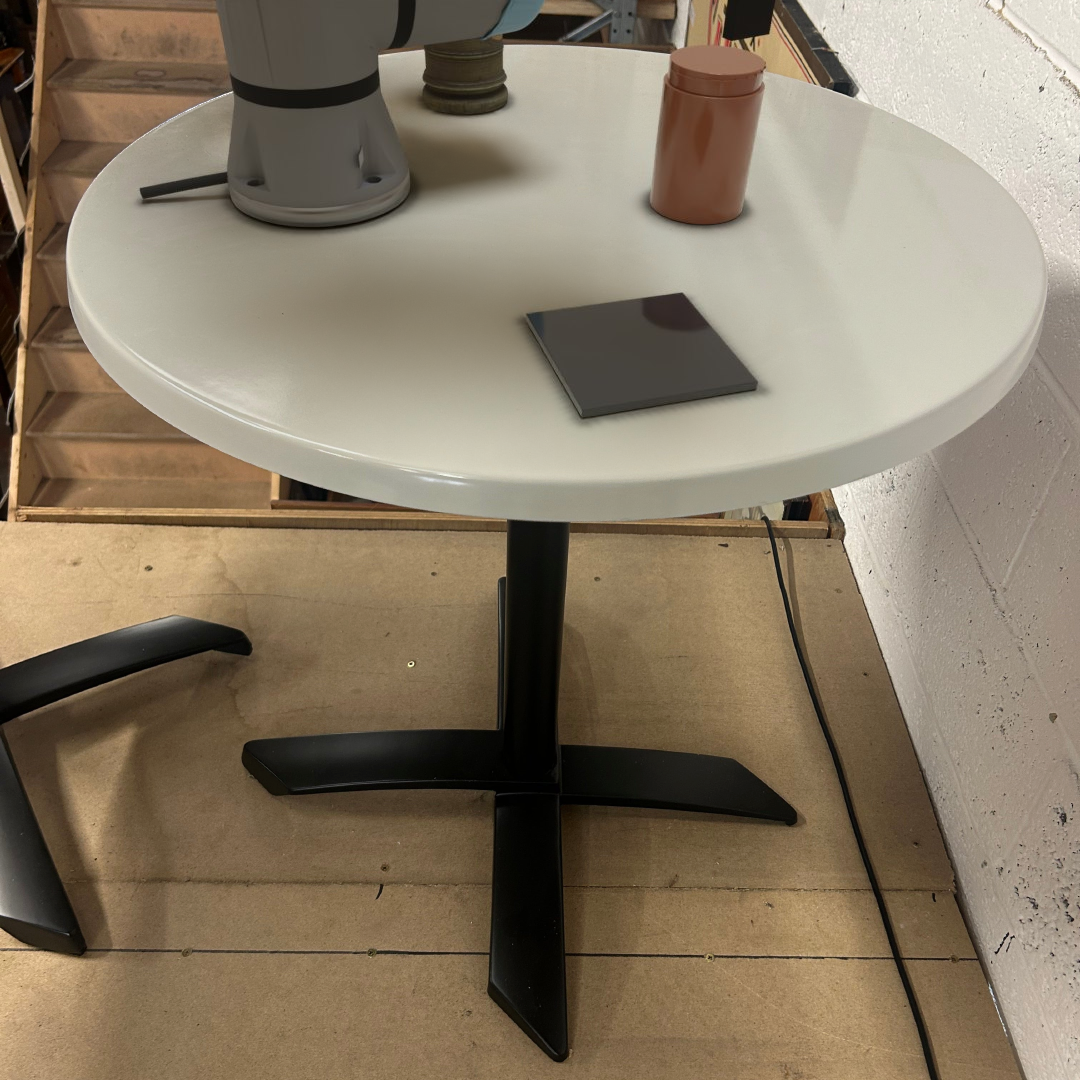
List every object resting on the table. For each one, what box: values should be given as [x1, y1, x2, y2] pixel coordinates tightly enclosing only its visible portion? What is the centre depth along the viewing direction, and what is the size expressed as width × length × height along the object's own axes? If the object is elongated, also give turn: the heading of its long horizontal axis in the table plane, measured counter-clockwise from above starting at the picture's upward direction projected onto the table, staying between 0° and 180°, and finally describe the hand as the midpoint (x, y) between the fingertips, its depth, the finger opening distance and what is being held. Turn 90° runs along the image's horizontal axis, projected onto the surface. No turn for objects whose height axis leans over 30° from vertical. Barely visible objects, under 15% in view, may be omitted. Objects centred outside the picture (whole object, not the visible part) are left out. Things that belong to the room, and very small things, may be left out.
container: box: [421, 34, 509, 115], centre depth 90 cm, size 9×9×18 cm
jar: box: [649, 44, 767, 225], centre depth 75 cm, size 8×8×12 cm
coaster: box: [525, 291, 759, 419], centre depth 62 cm, size 12×12×1 cm
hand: (689, 14), depth 52 cm, fingers closed on lid, 9 cm apart
